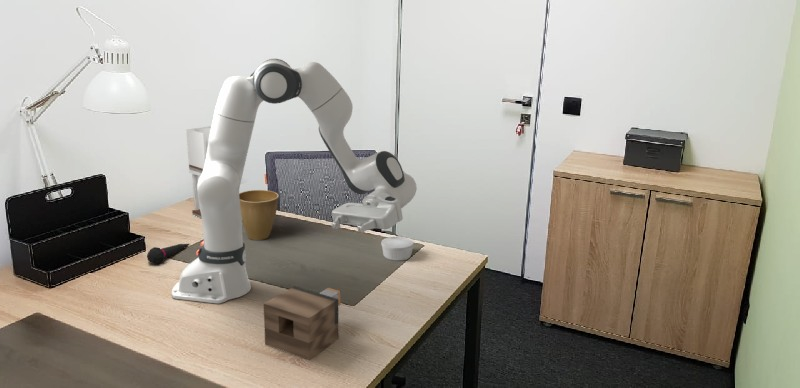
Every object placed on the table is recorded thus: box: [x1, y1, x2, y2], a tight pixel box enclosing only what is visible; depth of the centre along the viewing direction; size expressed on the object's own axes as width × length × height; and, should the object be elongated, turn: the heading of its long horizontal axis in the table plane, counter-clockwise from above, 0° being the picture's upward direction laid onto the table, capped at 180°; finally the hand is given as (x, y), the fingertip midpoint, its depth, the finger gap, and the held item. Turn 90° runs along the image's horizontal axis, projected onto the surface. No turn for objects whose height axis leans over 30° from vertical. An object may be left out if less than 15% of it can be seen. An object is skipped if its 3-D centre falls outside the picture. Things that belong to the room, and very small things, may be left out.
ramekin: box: [380, 236, 415, 262], centre depth 213 cm, size 11×11×5 cm
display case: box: [185, 125, 211, 219], centre depth 245 cm, size 11×11×35 cm
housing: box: [263, 285, 339, 361], centre depth 156 cm, size 12×14×11 cm
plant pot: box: [239, 189, 279, 241], centre depth 226 cm, size 15×15×16 cm
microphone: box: [146, 243, 190, 265], centre depth 209 cm, size 6×6×20 cm
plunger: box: [319, 287, 341, 307], centre depth 161 cm, size 14×4×4 cm, turn 150°
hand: (346, 228), depth 168 cm, fingers open, 8 cm apart
